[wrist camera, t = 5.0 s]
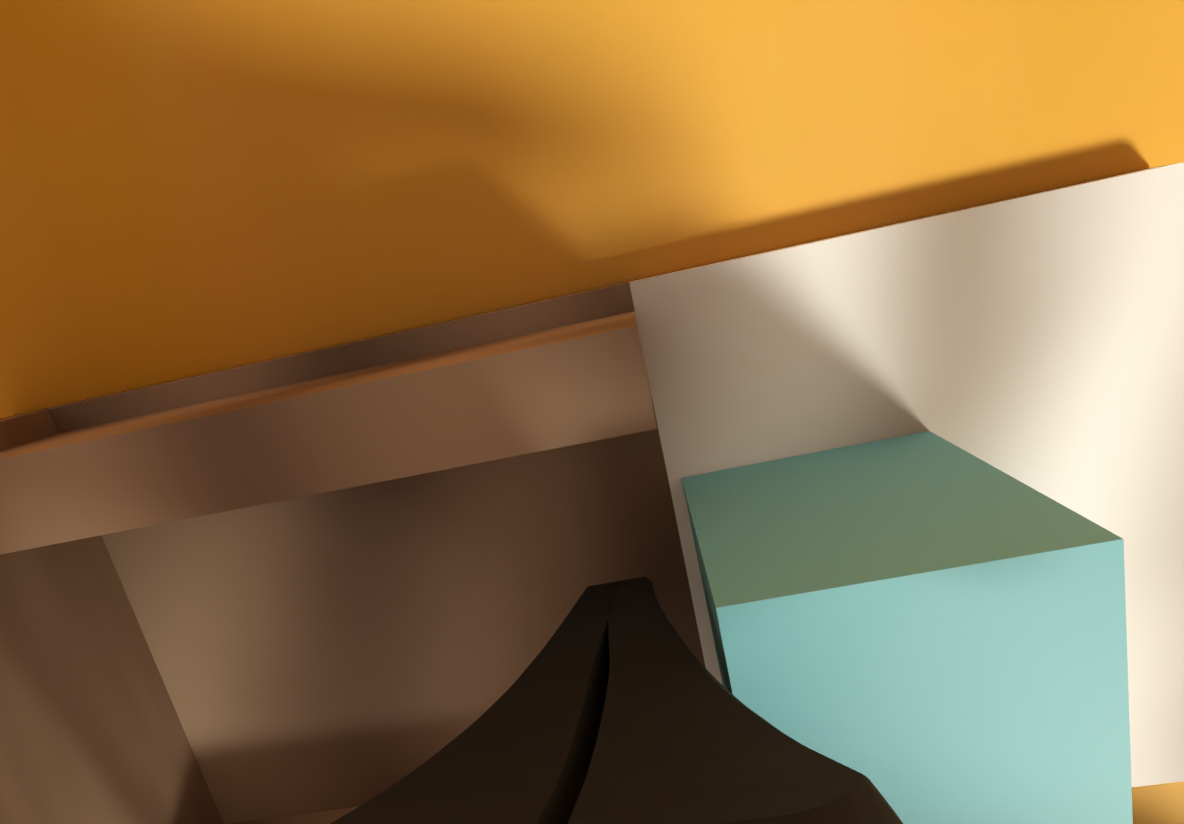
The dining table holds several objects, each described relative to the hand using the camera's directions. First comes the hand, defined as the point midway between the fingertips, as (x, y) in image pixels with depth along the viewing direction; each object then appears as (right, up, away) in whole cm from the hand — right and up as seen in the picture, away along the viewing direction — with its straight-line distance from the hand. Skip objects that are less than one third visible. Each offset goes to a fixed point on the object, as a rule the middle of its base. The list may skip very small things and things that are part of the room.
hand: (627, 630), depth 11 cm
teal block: (+4, +1, +1) cm, 4 cm away
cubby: (-1, 0, +2) cm, 2 cm away
